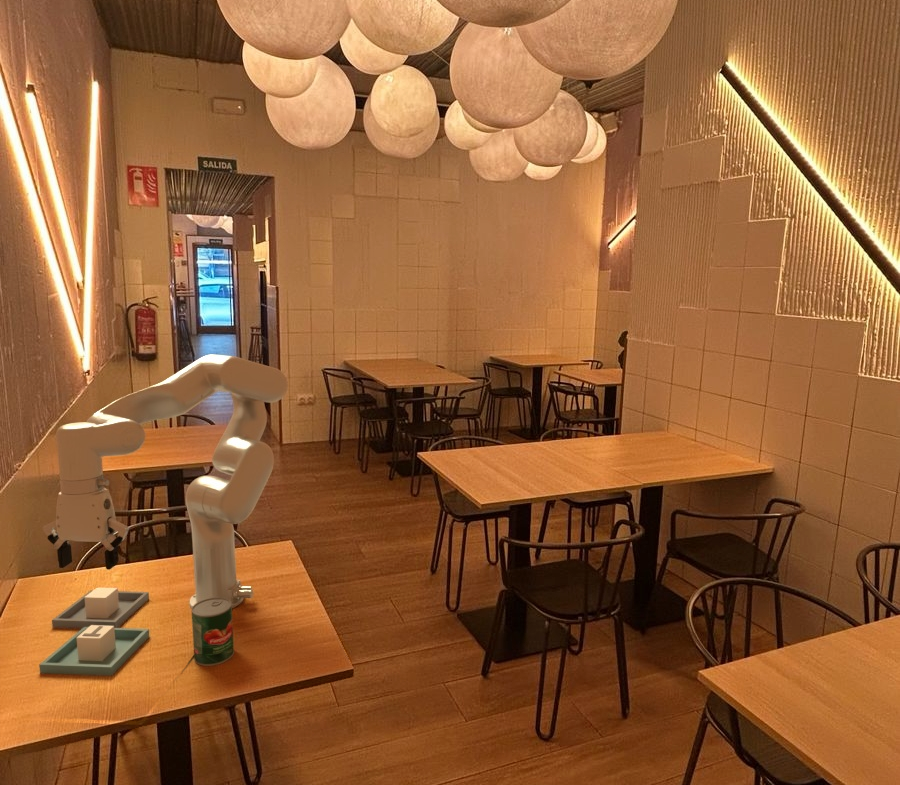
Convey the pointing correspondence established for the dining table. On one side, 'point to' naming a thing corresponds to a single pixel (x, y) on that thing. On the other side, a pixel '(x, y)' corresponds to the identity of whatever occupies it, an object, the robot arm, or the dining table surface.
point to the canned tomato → (212, 631)
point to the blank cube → (101, 602)
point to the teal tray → (68, 661)
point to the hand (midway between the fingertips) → (88, 566)
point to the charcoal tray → (78, 620)
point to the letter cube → (96, 643)
